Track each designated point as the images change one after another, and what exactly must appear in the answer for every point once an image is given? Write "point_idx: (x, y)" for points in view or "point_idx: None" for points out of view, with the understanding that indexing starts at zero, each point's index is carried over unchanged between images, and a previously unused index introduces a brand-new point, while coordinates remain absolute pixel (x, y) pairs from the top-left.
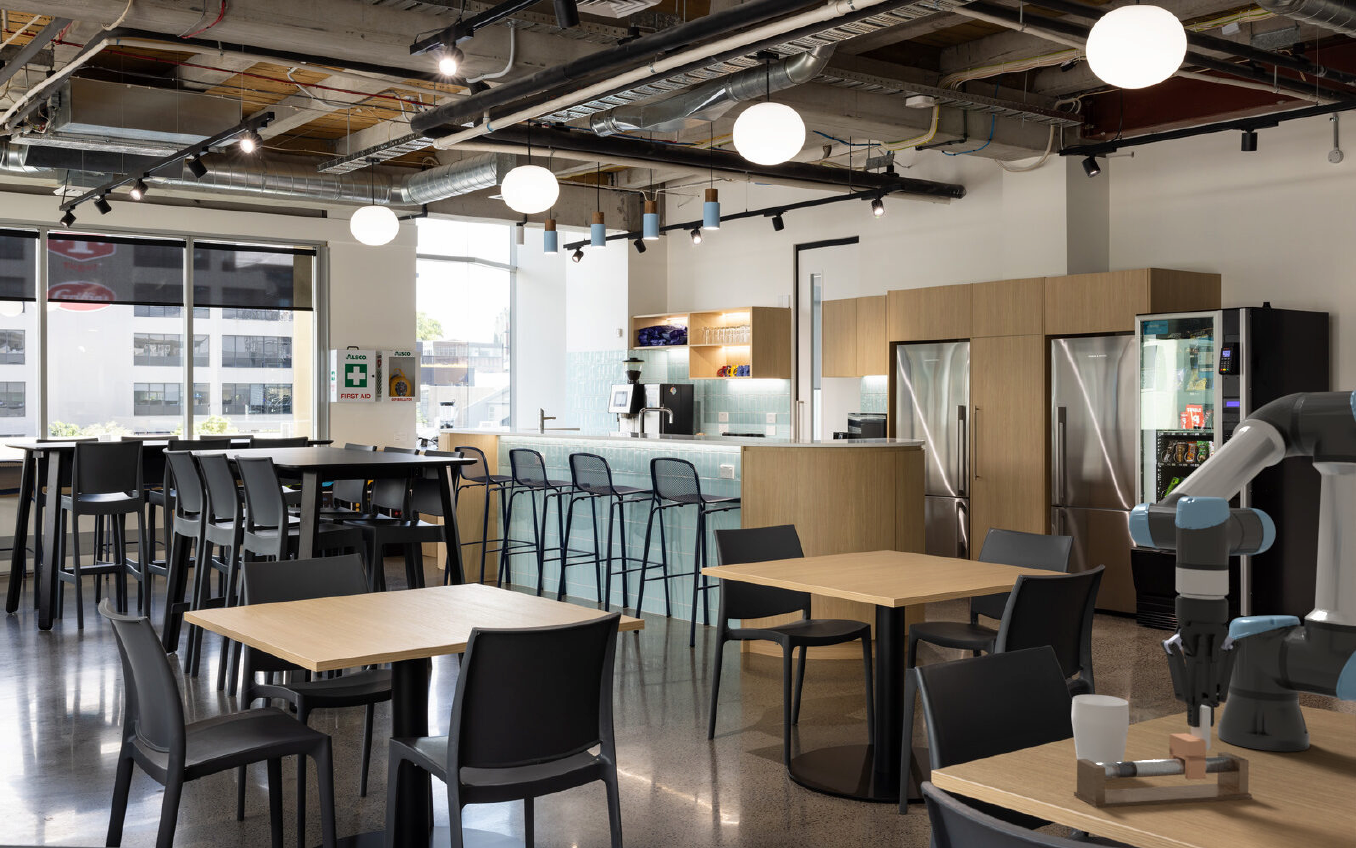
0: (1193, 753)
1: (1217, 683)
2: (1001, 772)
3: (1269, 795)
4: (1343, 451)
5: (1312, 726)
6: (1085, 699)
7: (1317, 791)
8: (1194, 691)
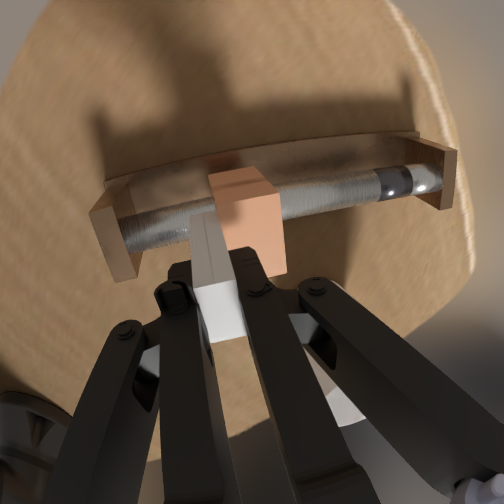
0: (254, 185)
1: (139, 406)
2: (427, 289)
3: (65, 206)
4: None
5: None
6: (355, 414)
7: None
8: (292, 328)
